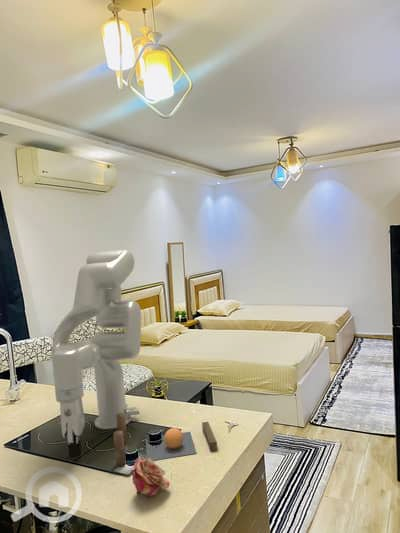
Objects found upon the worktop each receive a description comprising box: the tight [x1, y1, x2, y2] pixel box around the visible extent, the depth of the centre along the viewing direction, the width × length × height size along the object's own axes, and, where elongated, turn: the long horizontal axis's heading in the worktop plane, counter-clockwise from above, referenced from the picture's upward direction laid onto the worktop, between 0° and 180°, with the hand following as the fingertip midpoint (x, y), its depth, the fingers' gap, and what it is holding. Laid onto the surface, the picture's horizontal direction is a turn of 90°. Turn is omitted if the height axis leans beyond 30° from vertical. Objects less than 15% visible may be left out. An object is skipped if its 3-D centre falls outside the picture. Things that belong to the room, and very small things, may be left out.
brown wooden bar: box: [201, 421, 218, 452], centre depth 119 cm, size 2×14×2 cm, turn 9°
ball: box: [163, 427, 183, 449], centre depth 115 cm, size 6×6×6 cm
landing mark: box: [145, 431, 197, 462], centre depth 117 cm, size 14×14×1 cm
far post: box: [116, 413, 128, 446], centre depth 121 cm, size 3×3×9 cm
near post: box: [113, 430, 127, 468], centre depth 108 cm, size 3×3×9 cm
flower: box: [130, 457, 171, 501], centre depth 94 cm, size 10×9×8 cm
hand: (75, 455), depth 113 cm, fingers closed
